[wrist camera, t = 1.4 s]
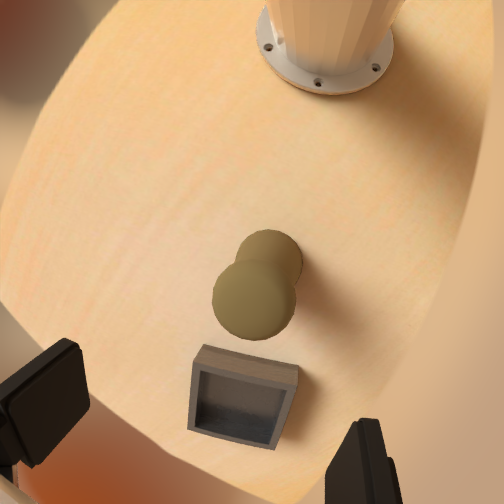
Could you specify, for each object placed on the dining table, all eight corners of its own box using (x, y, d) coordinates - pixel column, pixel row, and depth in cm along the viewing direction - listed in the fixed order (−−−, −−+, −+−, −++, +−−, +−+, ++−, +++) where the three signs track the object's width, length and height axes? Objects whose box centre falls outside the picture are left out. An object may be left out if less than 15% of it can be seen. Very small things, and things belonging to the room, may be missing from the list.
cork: (246, 220, 28) (211, 245, 17) (311, 241, 27) (317, 278, 17) (229, 282, 29) (189, 336, 19) (290, 302, 29) (283, 367, 18)
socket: (203, 344, 31) (192, 361, 28) (298, 365, 30) (297, 385, 27) (196, 410, 34) (187, 429, 30) (277, 429, 32) (274, 450, 29)
